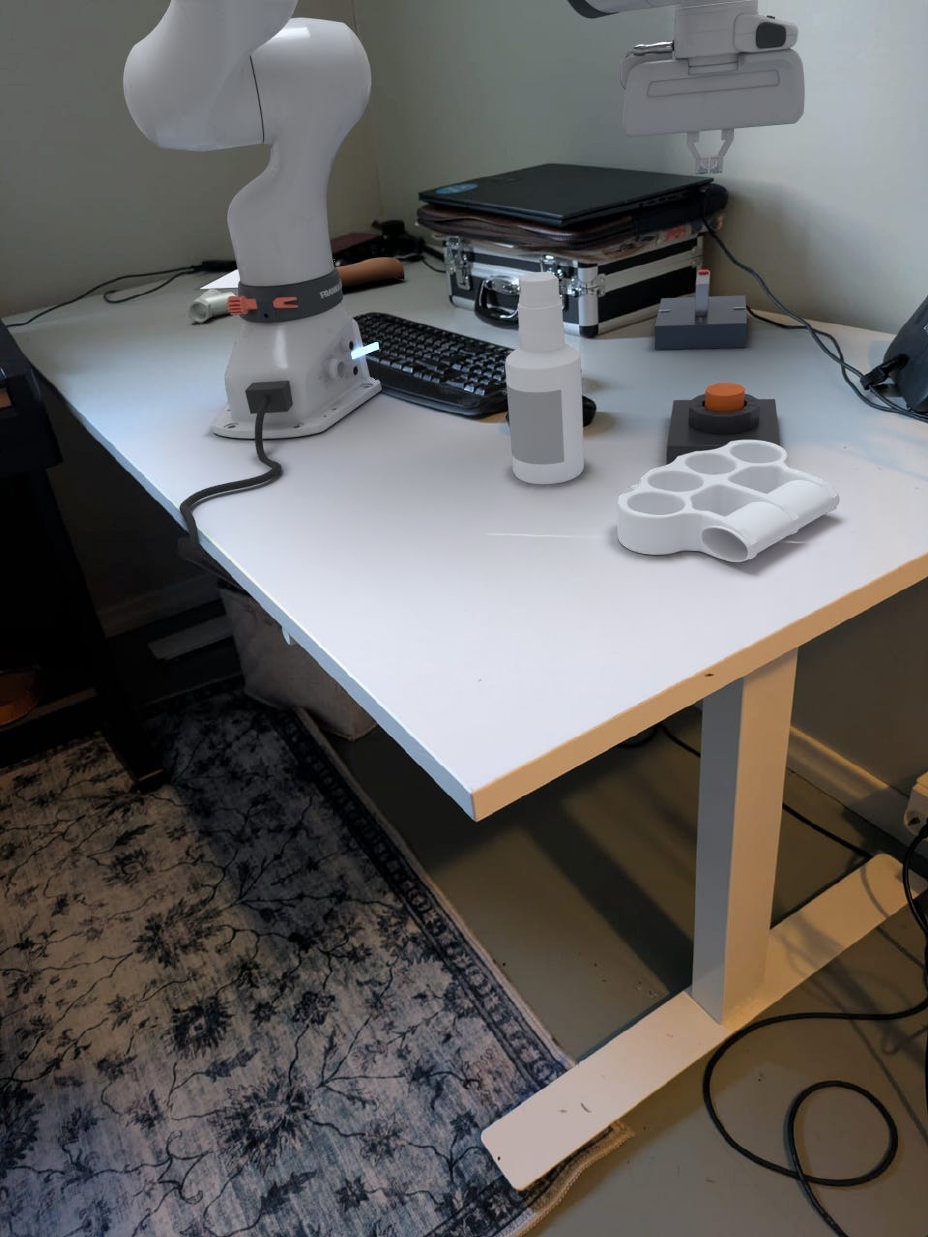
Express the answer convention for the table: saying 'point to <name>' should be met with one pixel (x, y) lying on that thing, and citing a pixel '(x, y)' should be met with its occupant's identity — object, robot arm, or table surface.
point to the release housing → (719, 425)
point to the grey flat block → (701, 324)
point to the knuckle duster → (721, 502)
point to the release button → (724, 397)
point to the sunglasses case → (371, 271)
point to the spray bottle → (544, 388)
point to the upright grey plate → (702, 293)
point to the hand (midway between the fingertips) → (708, 173)
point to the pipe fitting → (209, 305)
